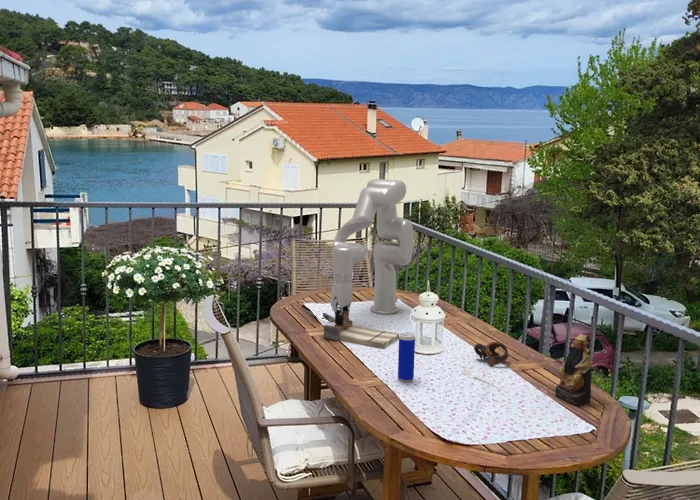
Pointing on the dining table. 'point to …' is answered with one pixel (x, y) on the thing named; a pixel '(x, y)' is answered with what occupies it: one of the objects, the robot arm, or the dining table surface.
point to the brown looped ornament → (491, 352)
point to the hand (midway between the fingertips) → (341, 322)
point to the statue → (576, 374)
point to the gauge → (337, 327)
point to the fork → (480, 379)
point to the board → (368, 336)
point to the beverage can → (406, 357)
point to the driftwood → (323, 316)
